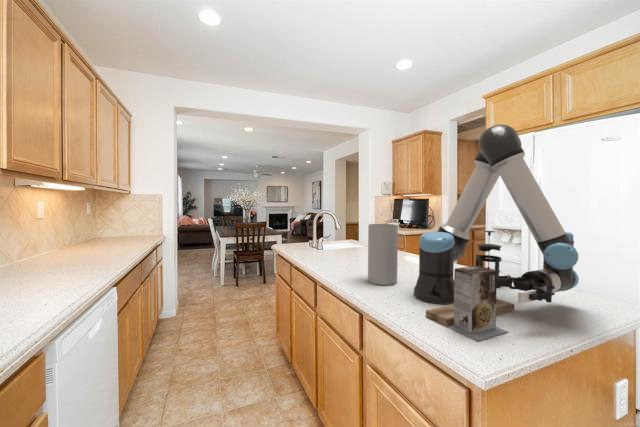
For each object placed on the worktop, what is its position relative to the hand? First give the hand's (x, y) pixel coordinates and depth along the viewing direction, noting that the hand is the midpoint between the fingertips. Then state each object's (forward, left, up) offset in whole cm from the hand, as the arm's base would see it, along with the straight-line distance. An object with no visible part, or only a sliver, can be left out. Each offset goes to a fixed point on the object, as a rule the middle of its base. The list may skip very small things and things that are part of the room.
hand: (494, 290), depth 82 cm
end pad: (+1, -8, -10) cm, 12 cm away
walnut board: (-8, +1, -10) cm, 13 cm away
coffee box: (-1, -8, -9) cm, 12 cm away
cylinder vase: (-49, -2, -10) cm, 50 cm away
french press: (-27, +36, -10) cm, 46 cm away
